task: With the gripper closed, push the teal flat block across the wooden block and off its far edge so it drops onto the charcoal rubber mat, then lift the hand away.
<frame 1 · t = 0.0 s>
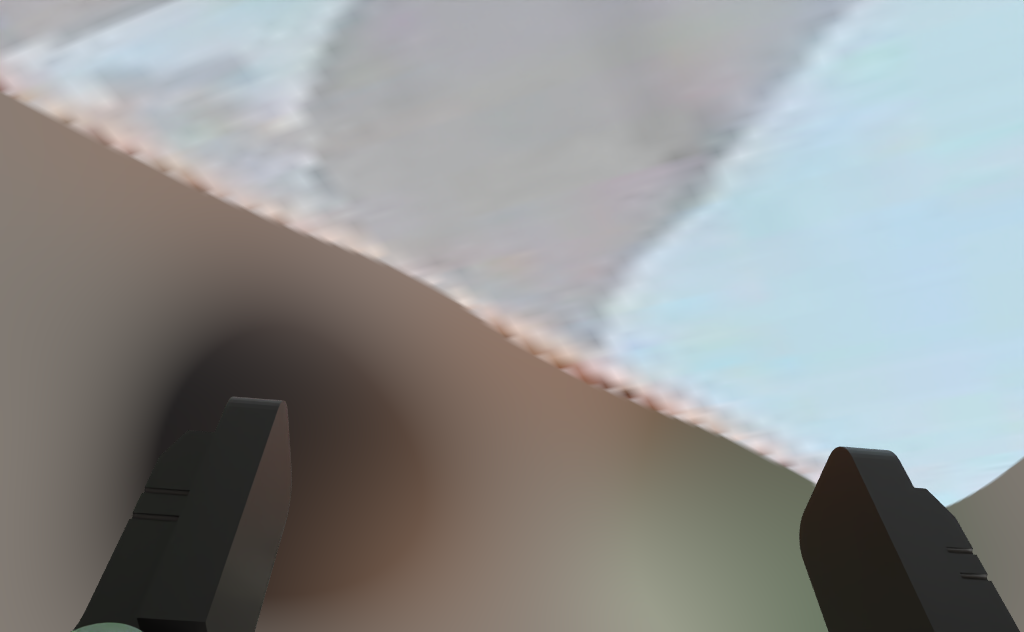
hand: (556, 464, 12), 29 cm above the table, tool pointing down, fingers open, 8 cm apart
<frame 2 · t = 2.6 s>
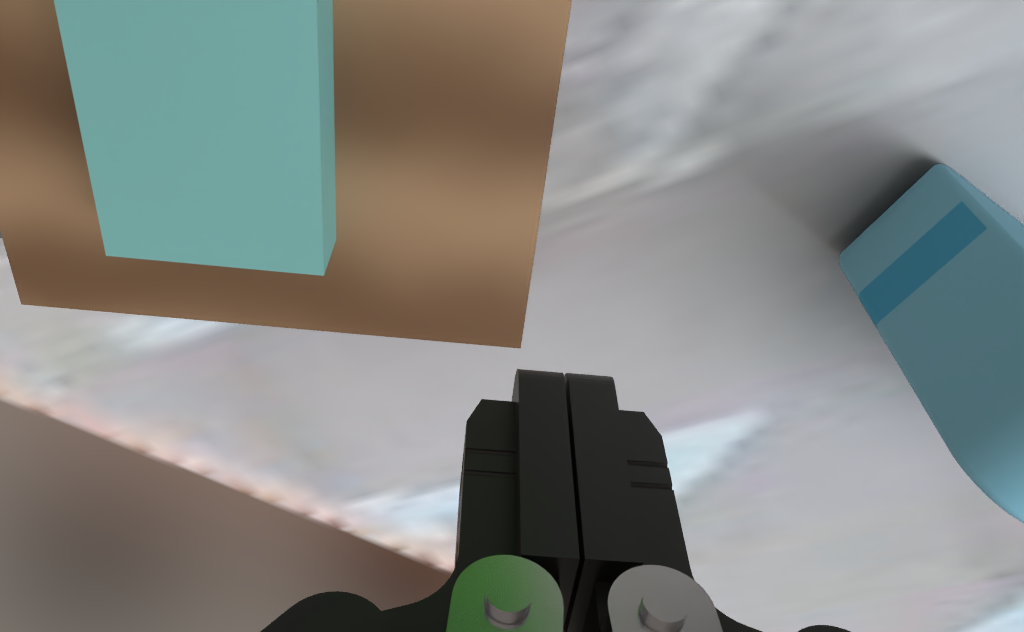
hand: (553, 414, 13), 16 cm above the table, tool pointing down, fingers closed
teal flat block: (221, 84, 22), point 4 cm above the table, touching wooden block
data package: (981, 275, 31), on the table
wooden block: (291, 41, 26), on the table
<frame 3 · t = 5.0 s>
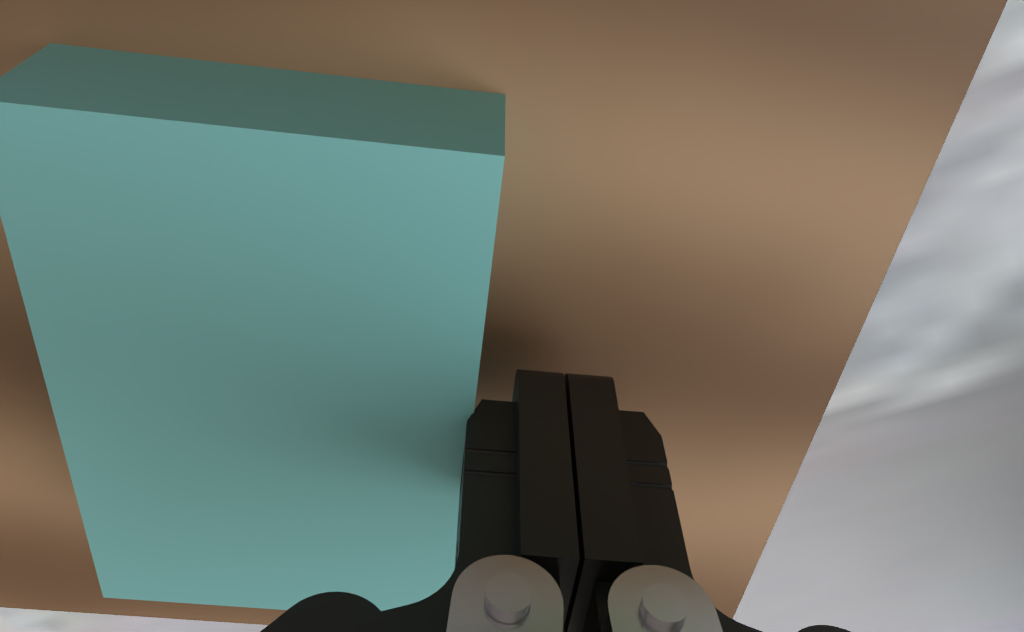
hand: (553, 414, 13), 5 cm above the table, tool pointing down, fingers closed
teal flat block: (293, 337, 14), point 4 cm above the table, touching wooden block, gripper
wooden block: (395, 225, 17), on the table
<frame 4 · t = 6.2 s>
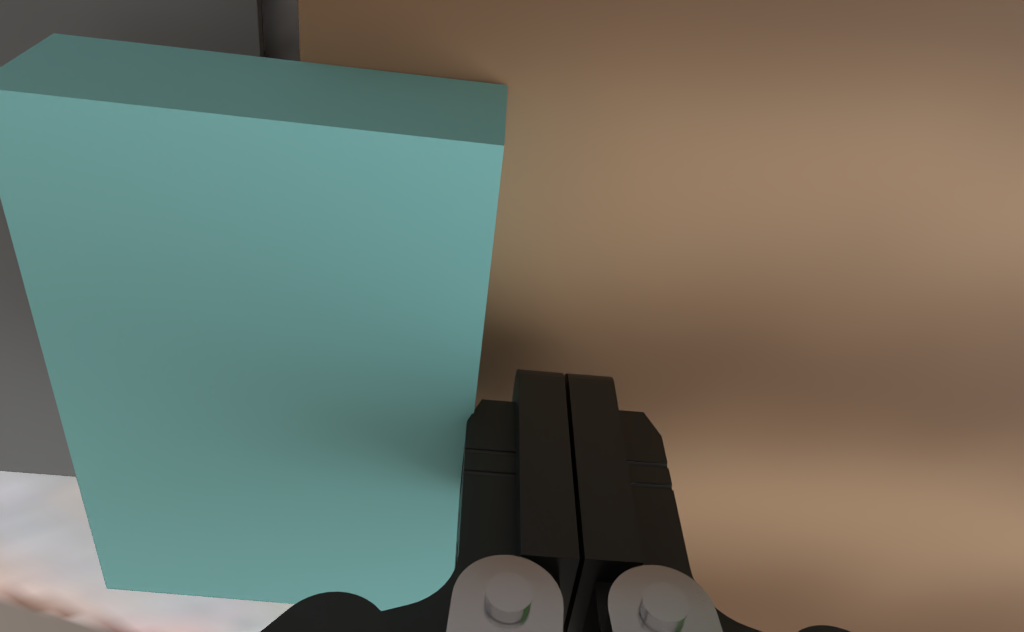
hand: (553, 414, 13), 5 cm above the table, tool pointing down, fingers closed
teal flat block: (296, 330, 14), point 4 cm above the table, touching gripper
wooden block: (729, 255, 18), on the table
mat: (18, 185, 17), on the table
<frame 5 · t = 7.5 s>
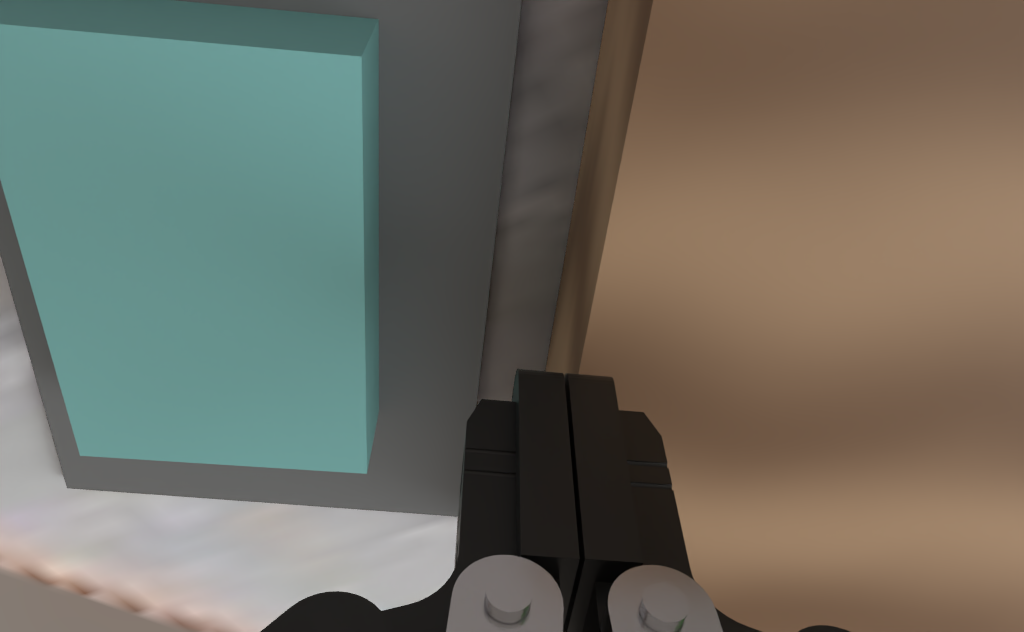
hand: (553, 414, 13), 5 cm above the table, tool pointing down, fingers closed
teal flat block: (198, 288, 15), point 2 cm above the table, tilted 180°, touching mat
wooden block: (934, 286, 18), on the table
mat: (248, 222, 17), on the table
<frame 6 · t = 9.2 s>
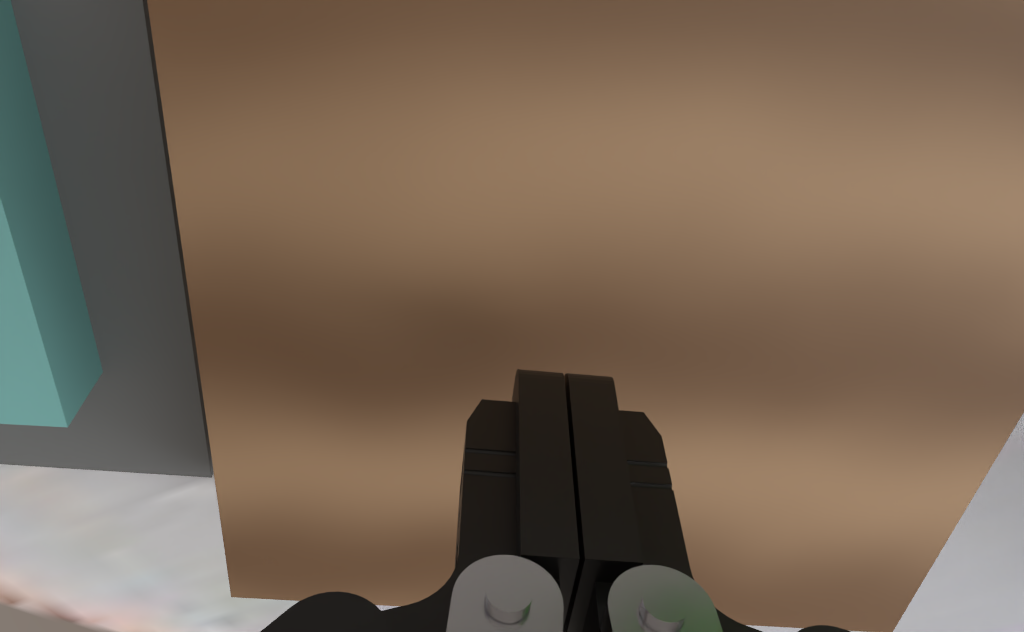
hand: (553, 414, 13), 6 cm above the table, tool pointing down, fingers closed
wooden block: (608, 243, 19), on the table
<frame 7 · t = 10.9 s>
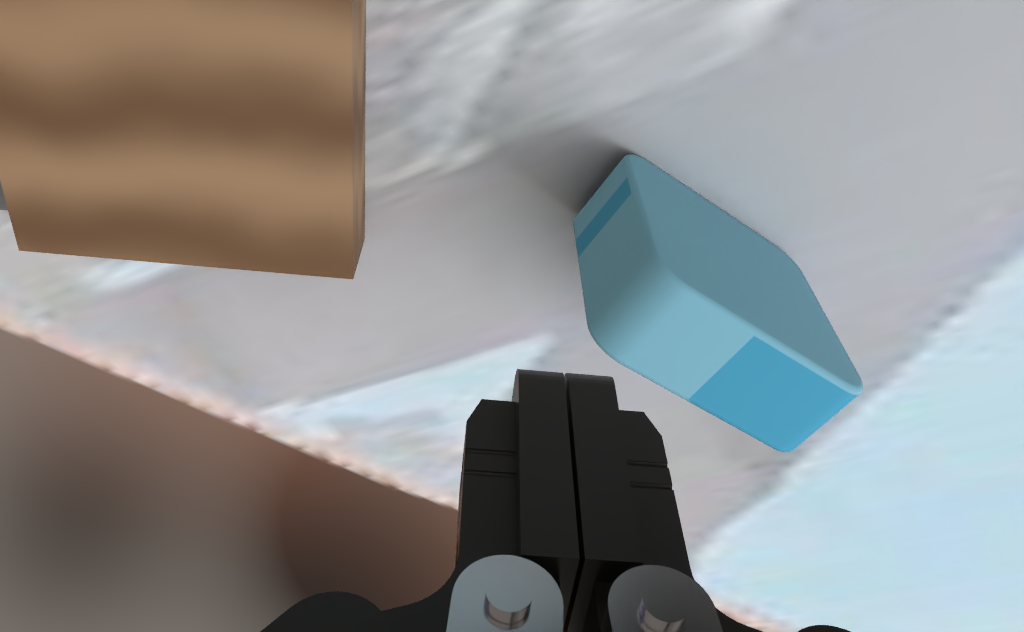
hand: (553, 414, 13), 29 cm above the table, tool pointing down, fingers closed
data package: (684, 232, 45), on the table
wooden block: (195, 77, 39), on the table
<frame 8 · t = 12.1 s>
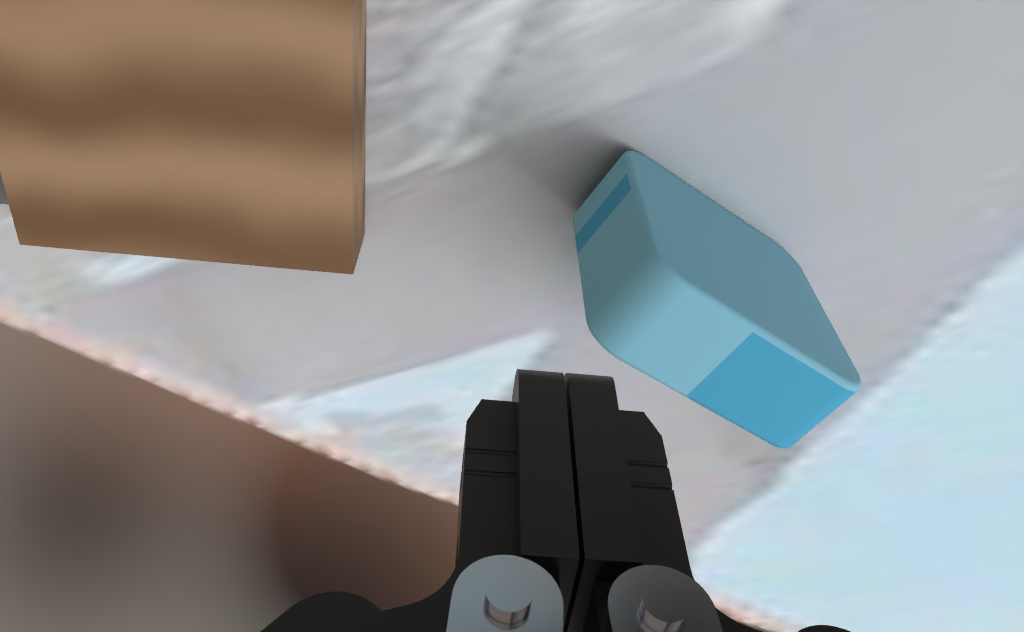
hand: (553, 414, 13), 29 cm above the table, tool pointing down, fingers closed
data package: (683, 228, 45), on the table
wooden block: (195, 71, 39), on the table
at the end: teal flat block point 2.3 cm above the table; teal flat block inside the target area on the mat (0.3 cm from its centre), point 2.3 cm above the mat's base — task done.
